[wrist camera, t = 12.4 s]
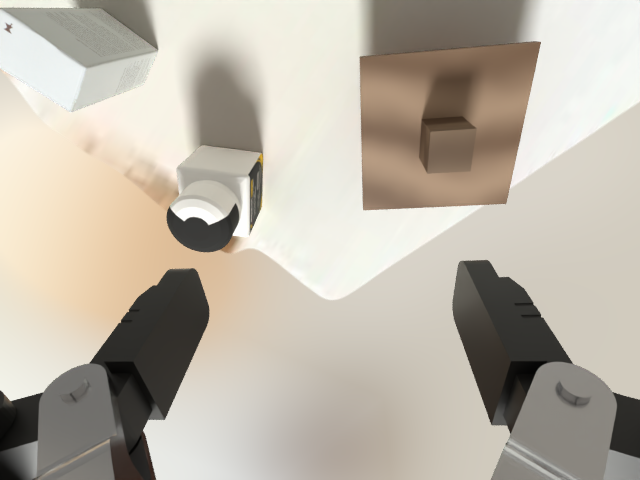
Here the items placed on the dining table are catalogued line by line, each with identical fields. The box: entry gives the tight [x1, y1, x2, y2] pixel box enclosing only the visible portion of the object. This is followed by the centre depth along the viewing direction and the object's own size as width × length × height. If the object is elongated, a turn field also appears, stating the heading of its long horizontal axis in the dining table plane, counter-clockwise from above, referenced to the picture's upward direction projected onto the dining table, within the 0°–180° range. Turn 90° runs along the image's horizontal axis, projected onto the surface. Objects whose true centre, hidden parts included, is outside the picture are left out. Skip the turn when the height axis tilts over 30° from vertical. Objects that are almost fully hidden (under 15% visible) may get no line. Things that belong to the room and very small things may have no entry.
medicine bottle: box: [167, 145, 263, 252], centre depth 37 cm, size 7×7×12 cm
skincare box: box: [0, 8, 158, 112], centre depth 30 cm, size 6×4×12 cm
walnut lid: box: [360, 41, 541, 210], centre depth 31 cm, size 14×14×5 cm
